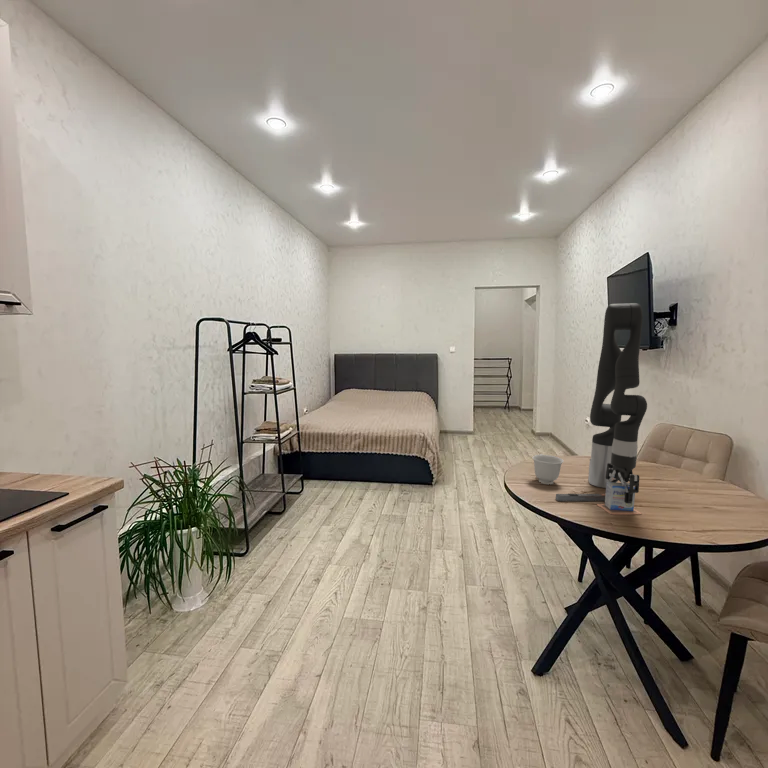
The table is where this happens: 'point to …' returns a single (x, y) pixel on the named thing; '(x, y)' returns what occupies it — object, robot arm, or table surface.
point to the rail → (580, 497)
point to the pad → (617, 510)
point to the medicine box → (617, 497)
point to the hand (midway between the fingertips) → (620, 498)
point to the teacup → (547, 468)
